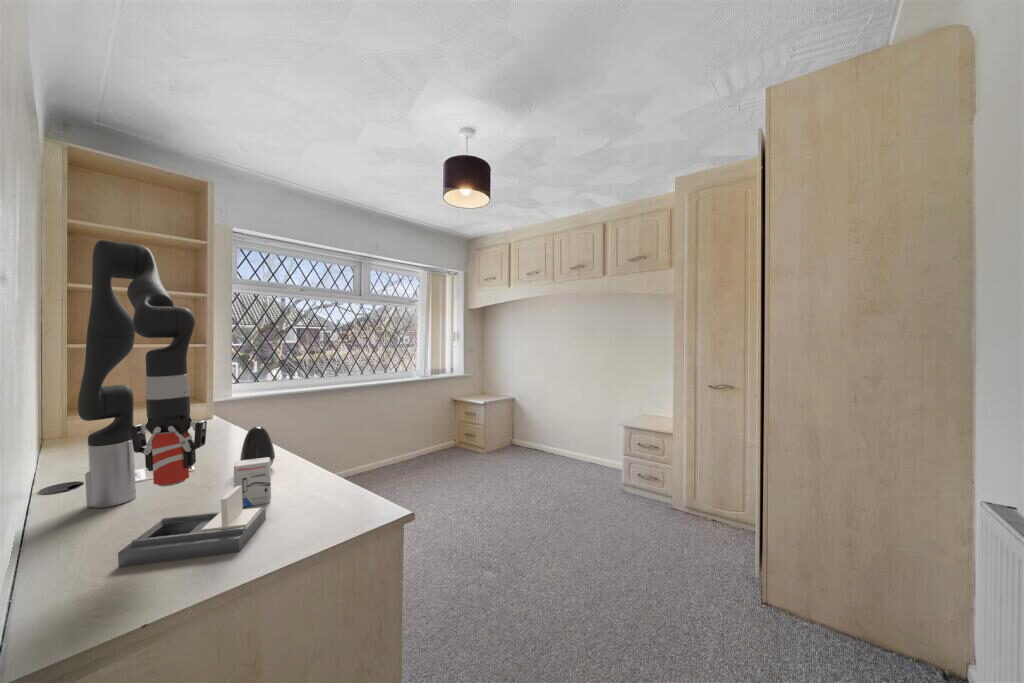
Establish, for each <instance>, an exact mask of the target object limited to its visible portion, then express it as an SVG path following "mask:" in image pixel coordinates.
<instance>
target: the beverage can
mask: <svg viewBox="0 0 1024 683" xmlns="http://www.w3.org/2000/svg"><path fill="white" fill-rule="evenodd" d="M182 436H183V437H184V438H186V437H187V434H186V433H185V434H183V435H182ZM179 439H180V438H179V437H178V436H177V435H176V434H175V433H173V432H165V433H155V436H154V437H153V439H152V458H153V471H152V477H153V479H152V480H153V485H157V486H158V487H171V486H176V485H179V484H182V483H184V482H185V481H186V480H187V479H189V478H190V472H189V470H190V468H185V462H184V452H186V451H185V450H184V448H183V447H182V444H181V443H180V440H179Z"/></svg>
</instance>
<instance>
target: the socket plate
mask: <svg viewBox="0 0 1024 683" xmlns="http://www.w3.org/2000/svg"><path fill="white" fill-rule="evenodd" d="M259 508H261V513H260V514H259V515H258V517H257V518H256V519H255V520H254V521H253V522H252V524H251V525H250V526H249V527H248V528H247V529H246V530H245V527H239V528H230V529H222V530H213V531H204V532H201V529H202V528H203V527H205V526H206V525H207V524H208V523H209V522H210V521H211V520H212V519H213V518H214V517H215V516H216V515H218V514H219V513H220V512H221V511H215V512H214V511H213V512H205V513H195V514H187V515H186V514H185V515H177V516H168V517H167V516H166V517H162V518H161V519H160V521H159V522H157V523H156V524H155V525H153V526H152V527H151V528H149V529H148V530H146V531H145V532H144V533H142V534H141V535H140V536H139V537H137V538H136V539H133V540H131V542H130V543H129V544H128V545H126V546H125V547H124V548H122V549H121V550H119V551H118V552H117V560H118V561H117V563H118V568H122V567H131V566H139V565H148V564H155V563H163V562H170V561H179V560H185V559H193V558H194V559H195V558H202V557H209V556H210V557H211V556H219V555H224V554H225V555H226V554H234V553H240V552H241V550H242V549H243V548H244V547H245V545H247V543H248V541H250V539H251V538H252V537H253V535H255V533H256V532H257V530H259V528H260V527H261V526H262V524H263V523H264V522H265V520H266V519H267V513H266V510H267V509H266V507H265V506H264V507H263V506H262V507H261V506H260V507H259Z"/></svg>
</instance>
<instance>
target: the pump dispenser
mask: <svg viewBox="0 0 1024 683" xmlns="http://www.w3.org/2000/svg"><path fill="white" fill-rule="evenodd" d="M275 453H276V452H275V448H274V444H273V442H272V438H271V437H270V435H269V433H268V431H267V430H266V429H265V428H264V427H263V426H262V425H260V426H253V427H252V428H250V429H249V431H247V434H246V435H245V437H244V440H243V443H242V447H241V452H240V458H239V461H242V460H250V459H258V458H266V457H269V458H270V468H271V467H272V465H273V463H274V460H275V458H276V454H275Z"/></svg>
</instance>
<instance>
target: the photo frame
mask: <svg viewBox="0 0 1024 683" xmlns="http://www.w3.org/2000/svg"><path fill="white" fill-rule="evenodd" d="M190 468H191V469H189V473H190V472H194V471H196V468H195V467H194V465H193V466H192V467H190ZM146 470H148V469H147V468H146V467H144V468H139V469H135V484H136V483H141V482H144V481H150V480H153V476H152V477H147V474H146ZM148 471H149V470H148Z"/></svg>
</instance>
